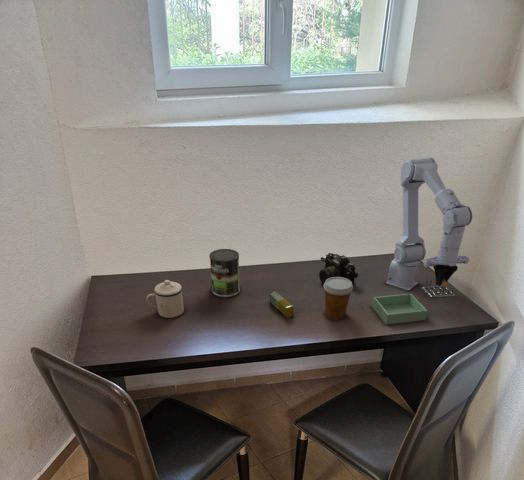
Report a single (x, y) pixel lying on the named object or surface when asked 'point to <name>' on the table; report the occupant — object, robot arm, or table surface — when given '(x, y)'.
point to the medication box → (281, 304)
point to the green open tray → (399, 308)
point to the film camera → (337, 268)
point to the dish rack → (440, 290)
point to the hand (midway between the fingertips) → (440, 284)
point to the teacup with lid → (168, 299)
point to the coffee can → (225, 272)
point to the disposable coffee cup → (337, 296)
